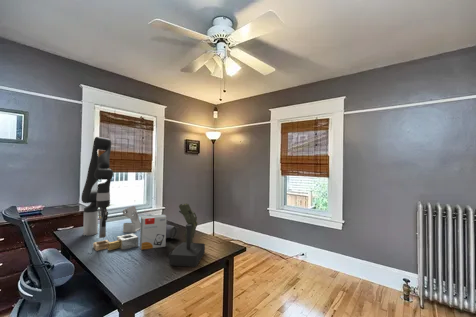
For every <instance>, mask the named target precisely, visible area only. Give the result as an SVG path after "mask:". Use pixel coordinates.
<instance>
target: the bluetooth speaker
mask: <svg viewBox="0 0 476 317" xmlns="http://www.w3.org/2000/svg"><path fill="white" fill-rule="evenodd" d="M177 235H178V228H177V226H174V225H171V224H166V240H167V239H175V237H176V236H177Z"/></svg>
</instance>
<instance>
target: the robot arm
mask: <svg viewBox="0 0 476 317" xmlns="http://www.w3.org/2000/svg"><path fill="white" fill-rule="evenodd" d="M99 150H100V151H104V152H103V153H101V154H100V155H99V153H98V151H99ZM111 151H112V140H111V139H110V138H108V137H107V138H106V137H102V136H95V137H94V139H93V145H92V152H91V158H90V162H89V165H88V168H87V175H86V180H85V184H84V187H83V190H82V193H81V199H80V200H81V202H82V203H83V204H89V203H90V204H89V205H87V206H85V207H84V208H83V227H82V229H83V230H82V231H83V232H82V234H83V236H85V235H86V237H87V236H88V237H89V236H95V235H96V234H99V233H98V231H99V230H98V229H99V220H100V218H99V217H100V215H101V218H102V227H105V226H106V227H107V221H108V219H109V218H108V217H109V211H108V209H107V208H109V207H110V206H111V193H110V191H111V190H110V187H111V182H112V179H113V177H114V171H113V169H111V168H110V166H111V165H110V158H111ZM99 180H101V181H102V180H106V181H105V182H102V183H98V184H97V185H96V186H97V188H96V189H93V187H94V185H95V184H96V183H97V182H98V181H99ZM104 217H105V219H104Z"/></svg>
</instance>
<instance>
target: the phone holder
mask: <svg viewBox="0 0 476 317" xmlns="http://www.w3.org/2000/svg"><path fill="white" fill-rule="evenodd" d="M122 214H123V216H125V217H127V218H128V219H130V222H124V223H123V226H122V233H129V234H132V233H133V234H135V233H137V232H138V231H140V230H141V219H140V217H139V214H138V210H137V208H136V206H134V205H133V206H129V207H127V208H125V209H122Z"/></svg>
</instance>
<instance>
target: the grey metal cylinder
mask: <svg viewBox="0 0 476 317" xmlns="http://www.w3.org/2000/svg"><path fill="white" fill-rule="evenodd" d="M99 218H100V219H99ZM98 219H99V225H98V229H99V230H98V231H99V233H98V234H99V236H98V237H99V239H102V238H106V237H107V235H106V234H107V233H106V232H107V225H106V226H105V227H102V218H101V214H100V217H99V216H98ZM104 219H105V217H104Z"/></svg>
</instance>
